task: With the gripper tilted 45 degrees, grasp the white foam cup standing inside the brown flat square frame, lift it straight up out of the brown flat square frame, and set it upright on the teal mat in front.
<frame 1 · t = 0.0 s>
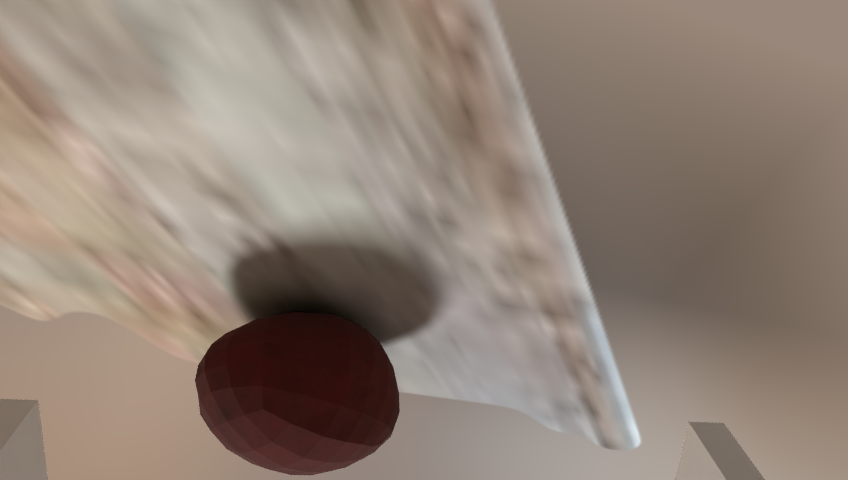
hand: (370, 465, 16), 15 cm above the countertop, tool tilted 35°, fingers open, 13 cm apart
potato: (308, 325, 45), on the countertop
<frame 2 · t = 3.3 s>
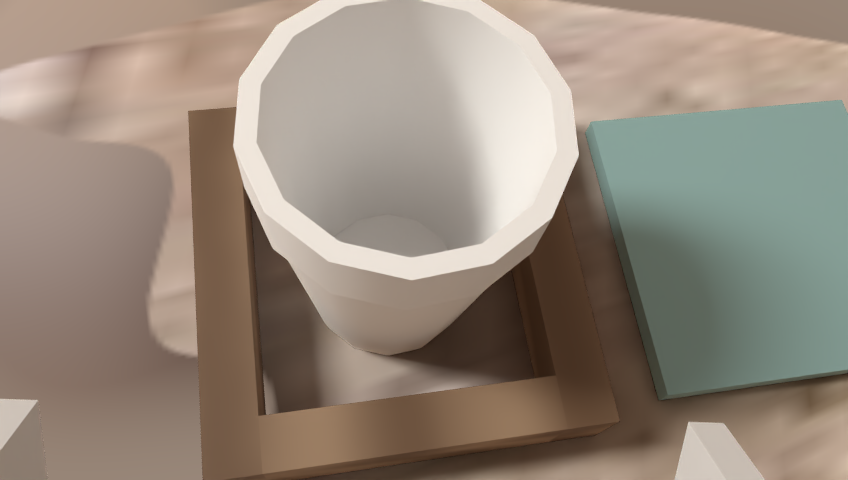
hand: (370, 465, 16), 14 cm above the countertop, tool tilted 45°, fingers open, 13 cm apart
foam cup: (387, 285, 33), on the countertop
mat: (752, 241, 35), on the countertop
brown flat square frame: (387, 283, 32), on the countertop
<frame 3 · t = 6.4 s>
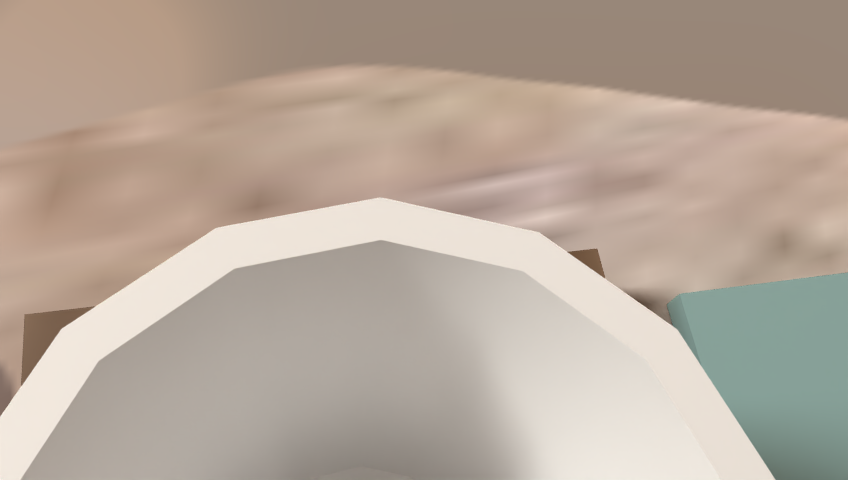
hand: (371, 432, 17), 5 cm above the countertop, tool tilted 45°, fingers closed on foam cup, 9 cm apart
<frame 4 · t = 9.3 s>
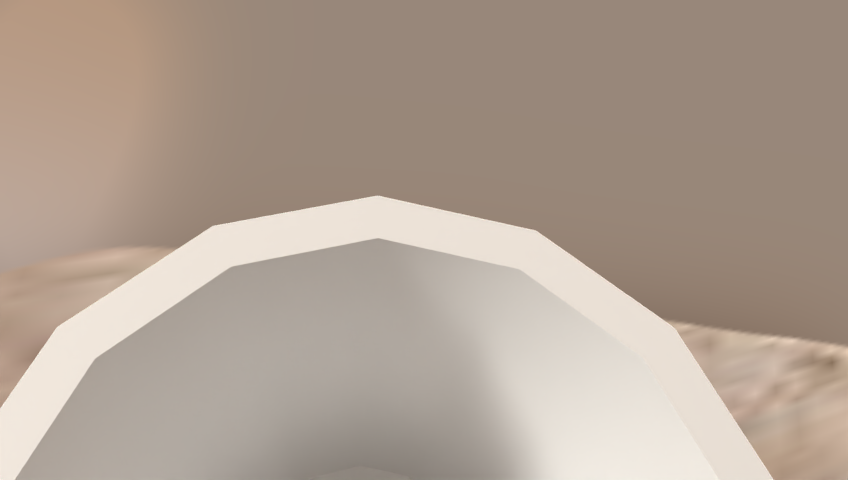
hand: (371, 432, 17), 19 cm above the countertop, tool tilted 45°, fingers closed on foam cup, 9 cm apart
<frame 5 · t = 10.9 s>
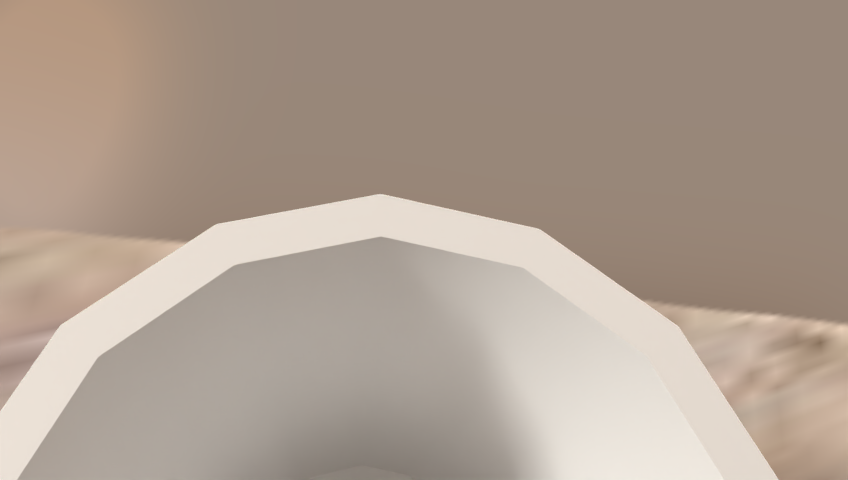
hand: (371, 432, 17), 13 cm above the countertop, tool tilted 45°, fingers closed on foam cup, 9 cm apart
when the fingers open (7 cm above the countertop, at t = 12.4 s): foam cup drops 1 cm, resting on mat.
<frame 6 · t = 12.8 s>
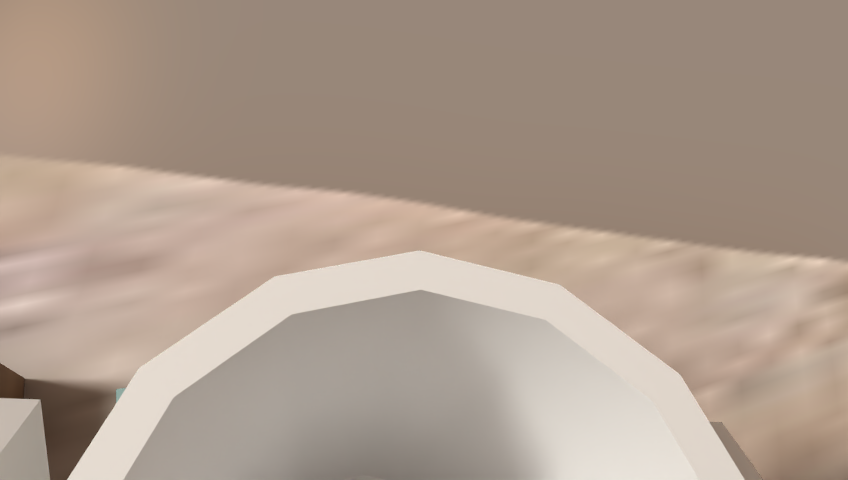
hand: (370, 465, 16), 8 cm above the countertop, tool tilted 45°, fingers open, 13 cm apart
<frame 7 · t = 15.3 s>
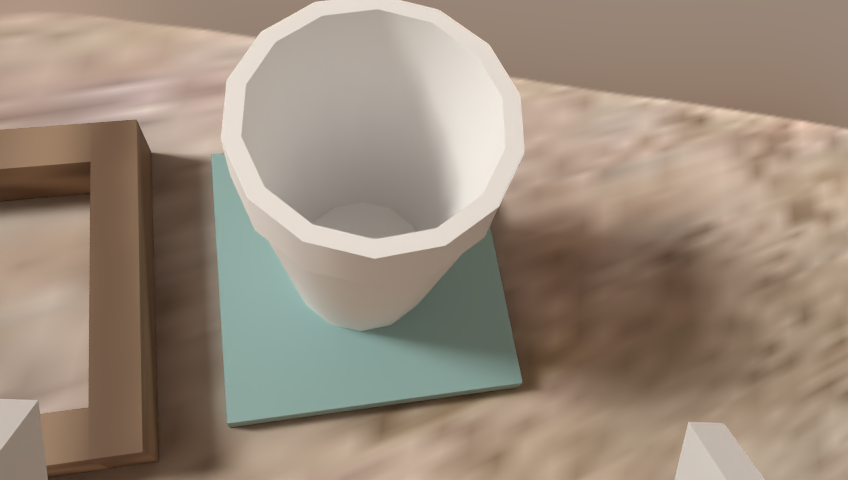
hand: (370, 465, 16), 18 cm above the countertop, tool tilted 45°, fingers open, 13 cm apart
foam cup: (361, 267, 36), point 1 cm above the countertop, touching mat
mat: (360, 271, 36), on the countertop
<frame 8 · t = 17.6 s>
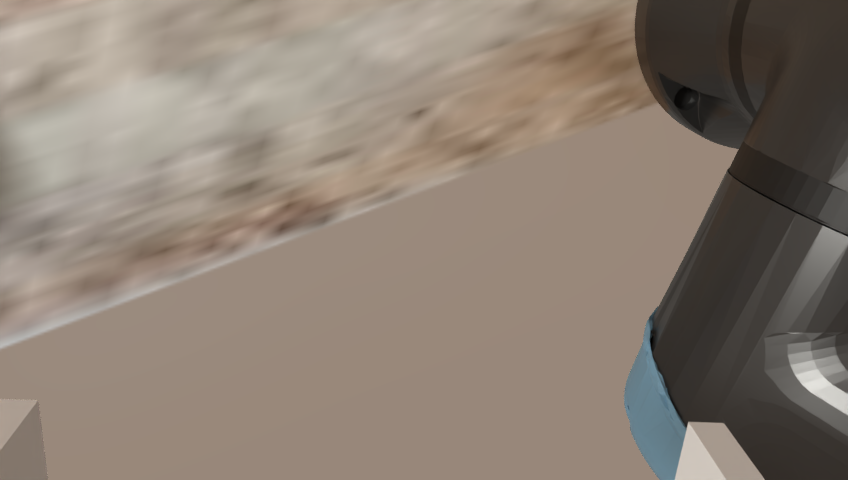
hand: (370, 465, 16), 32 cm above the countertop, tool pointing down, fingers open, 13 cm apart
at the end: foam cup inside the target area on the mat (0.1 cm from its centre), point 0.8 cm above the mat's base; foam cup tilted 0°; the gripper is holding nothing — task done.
